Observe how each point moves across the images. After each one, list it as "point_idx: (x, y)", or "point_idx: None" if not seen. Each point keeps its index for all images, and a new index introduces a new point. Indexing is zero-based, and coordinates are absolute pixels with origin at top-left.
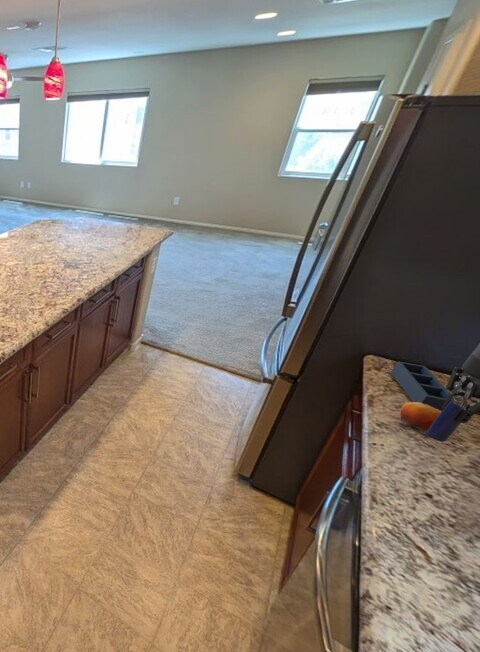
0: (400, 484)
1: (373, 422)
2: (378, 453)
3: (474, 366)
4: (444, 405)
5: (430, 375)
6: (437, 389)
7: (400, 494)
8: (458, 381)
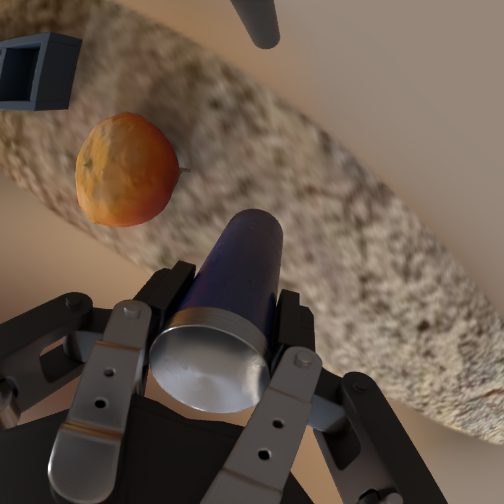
0: (392, 359)
1: None
2: None
3: None
4: None
5: None
6: (7, 58)
7: (414, 372)
8: (40, 374)
